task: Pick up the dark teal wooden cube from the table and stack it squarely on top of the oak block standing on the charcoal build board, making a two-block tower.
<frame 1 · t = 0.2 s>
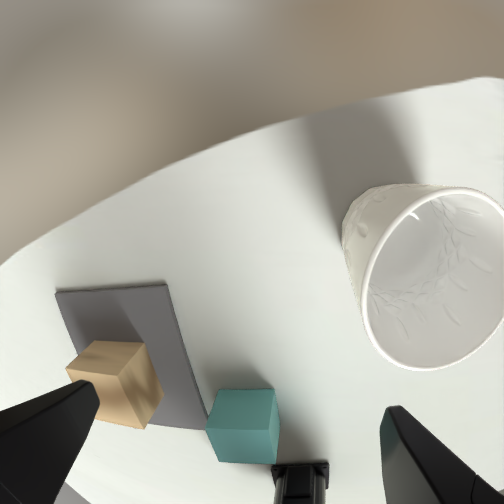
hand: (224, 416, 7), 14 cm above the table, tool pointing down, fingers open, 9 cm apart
oak base block: (128, 368, 25), resting on build board
white cup: (386, 232, 19), on the table
teal cube: (250, 407, 25), on the table
build board: (130, 365, 26), on the table
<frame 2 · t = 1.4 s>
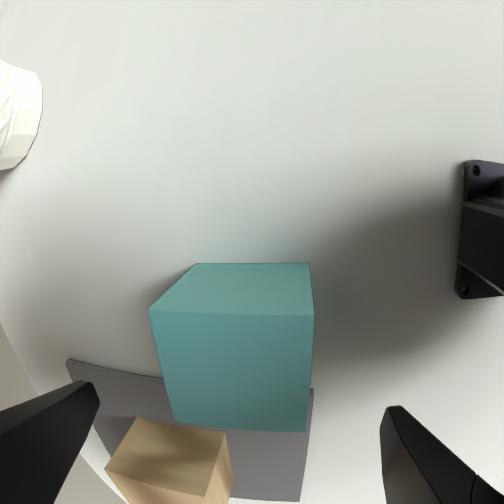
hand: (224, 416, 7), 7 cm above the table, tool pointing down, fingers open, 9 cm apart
oak base block: (187, 451, 17), resting on build board
white cup: (15, 118, 13), on the table
teal cube: (253, 313, 14), on the table
build board: (189, 447, 17), on the table
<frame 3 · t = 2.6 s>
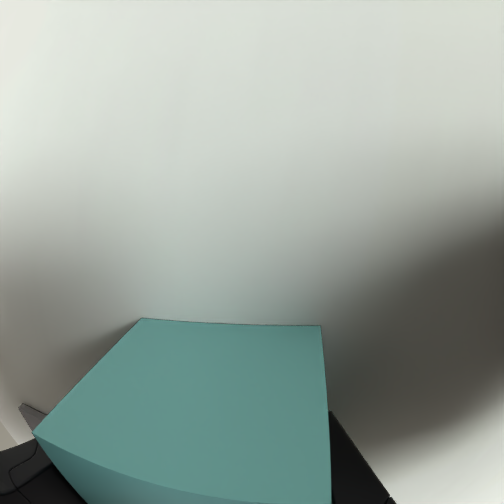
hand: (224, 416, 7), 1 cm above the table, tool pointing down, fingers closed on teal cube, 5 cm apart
teal cube: (232, 393, 8), on the table, touching gripper
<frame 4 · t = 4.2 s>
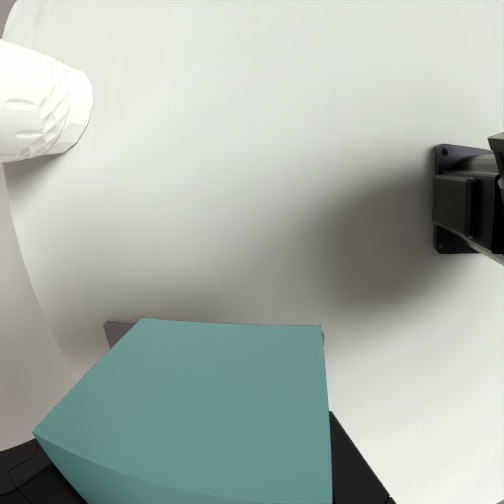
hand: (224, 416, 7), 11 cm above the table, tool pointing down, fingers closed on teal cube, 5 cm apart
white cup: (63, 111, 17), on the table
teal cube: (232, 393, 8), point 10 cm above the table, touching gripper
build board: (213, 400, 21), on the table
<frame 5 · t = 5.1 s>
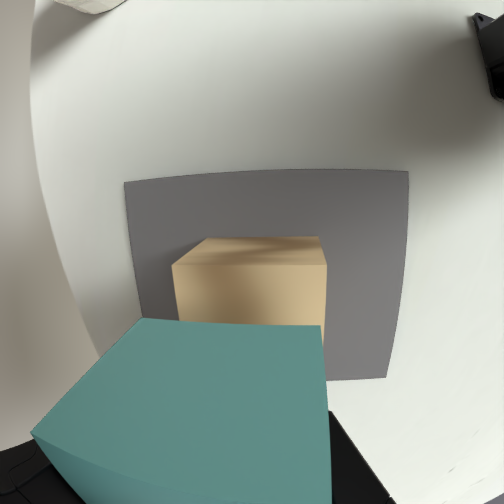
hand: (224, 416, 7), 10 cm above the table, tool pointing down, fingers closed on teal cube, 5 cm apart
oak base block: (263, 289, 17), resting on build board
teal cube: (231, 393, 8), point 9 cm above the table, touching gripper
build board: (264, 286, 17), on the table
when the fingers open (8 cm above the table, at t = 5.9 s): teal cube drops 1 cm, resting on oak base block.
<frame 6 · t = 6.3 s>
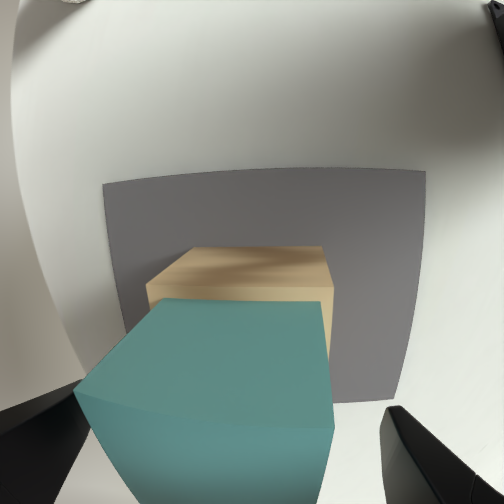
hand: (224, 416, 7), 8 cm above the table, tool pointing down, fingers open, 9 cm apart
oak base block: (258, 306, 15), resting on build board, touching teal cube
teal cube: (242, 366, 10), point 5 cm above the table, touching oak base block
build board: (260, 302, 15), on the table
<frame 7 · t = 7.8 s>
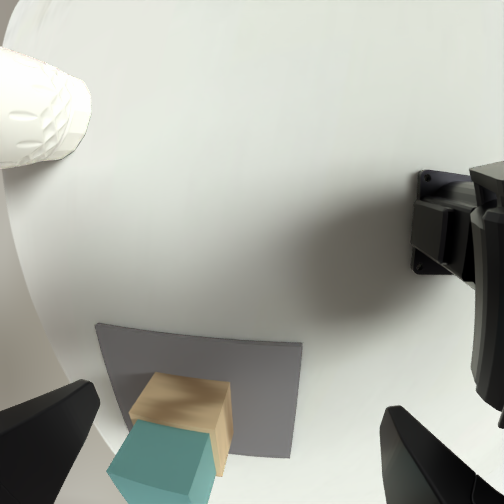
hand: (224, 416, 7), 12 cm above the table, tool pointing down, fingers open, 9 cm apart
oak base block: (195, 404, 22), resting on build board, touching teal cube
white cup: (62, 117, 18), on the table
teal cube: (178, 448, 17), point 5 cm above the table, touching oak base block
build board: (197, 400, 22), on the table
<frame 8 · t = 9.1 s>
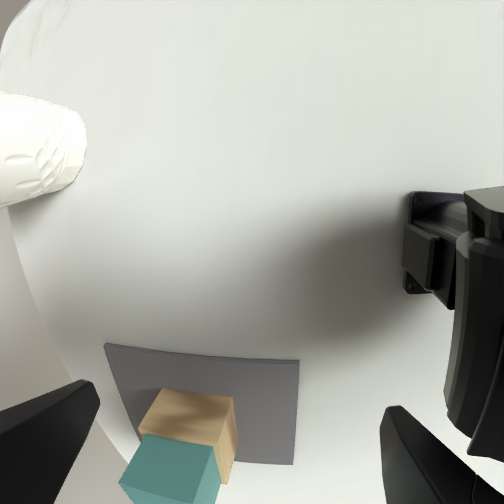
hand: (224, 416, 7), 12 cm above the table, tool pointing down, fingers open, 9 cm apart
oak base block: (201, 417, 23), resting on build board, touching teal cube
white cup: (59, 148, 19), on the table
teal cube: (185, 459, 18), point 5 cm above the table, touching oak base block
build board: (203, 413, 23), on the table
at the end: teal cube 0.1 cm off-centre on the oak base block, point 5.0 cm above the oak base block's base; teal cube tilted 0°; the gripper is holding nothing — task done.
